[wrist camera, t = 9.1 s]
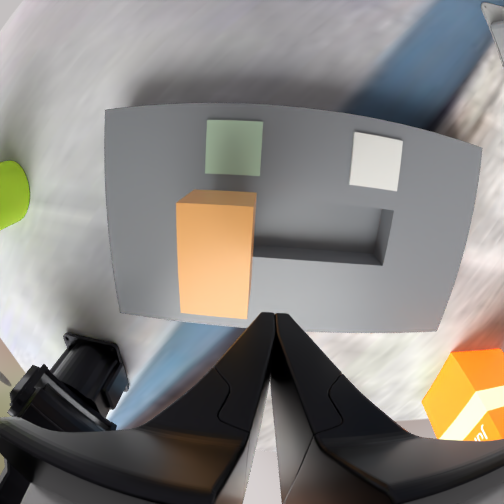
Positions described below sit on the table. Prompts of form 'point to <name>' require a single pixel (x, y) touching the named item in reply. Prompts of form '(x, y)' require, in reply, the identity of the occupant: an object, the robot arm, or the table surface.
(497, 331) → the table surface
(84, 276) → the table surface
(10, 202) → the soap dispenser
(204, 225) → the lever
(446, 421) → the orange juice
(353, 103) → the table surface
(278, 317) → the robot arm
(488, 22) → the emergency button
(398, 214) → the breaker box
